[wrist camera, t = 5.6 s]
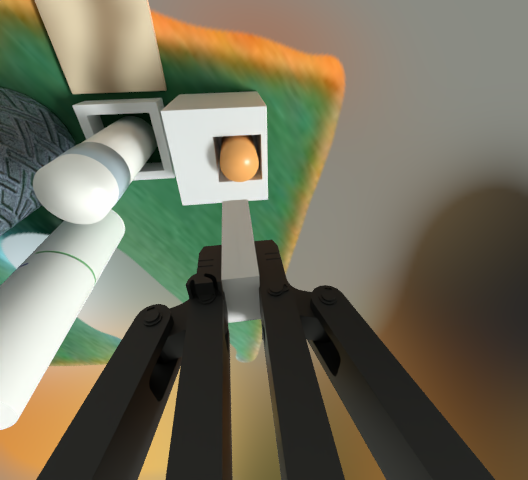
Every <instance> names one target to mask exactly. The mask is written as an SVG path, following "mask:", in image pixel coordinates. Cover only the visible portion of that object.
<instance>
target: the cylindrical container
mask: <svg viewBox="0 0 528 480" xmlns="http://www.w3.org/2000/svg"><path fill="white" fill-rule="evenodd" d="M124 233H125V225H124V222H123V220H122V219H121V217H120V216H119V215H118V214H117V213H116V212H115V211H113V210H112V209H111V210H110V211H109V212H108V214H107V215H106V216H105V217H104V218H103V219H102V220H100V221H99V222H96V223H93V224H75V223H71V222H68V221H65V220H64V221H63V222H62V223H61V224H60V225H59V226H58V227H57V228H56V229H55V230H54V231H53V232H52V233H51V234H50V235H49V236H48V237H47V239H46V240H45V241H44V242H43V243H42V244H41V245H40V246H39V247H38V248H37V249H36V250H35V251H34V252H33V253H32V254H31V255H30V256H29V257H28V258H27V259H26V260H25V261H24V262H23V263H22V264H21V265H20V266H19V267H18V268H17V270H15V271H14V272H13V273H12V275H11V276H10V277H9V278H8V279H7V280H6V281H5V282H4V283H3V284H2V285H1V286H0V430H2V429H5V428H8V427H10V426H12V425H13V424H15V423H16V422H17V420H18V418H19V417H20V415H21V413H22V411H23V409H24V408H25V406H26V404H27V403H28V401H29V399H30V397H31V396H32V394H33V392H34V390H35V389H36V387H37V385H38V384H39V382H40V380H41V378H42V377H43V375H44V373H45V371H46V369H47V368H48V366H49V364H50V363H51V361H52V359H53V357H54V356H55V354H56V352H57V350H58V349H59V347H60V345H61V343H62V342H63V340H64V338H65V336H66V335H67V333H68V331H69V329H70V328H71V326H72V324H73V322H74V321H75V319H76V317H77V316H78V314H79V312H80V310H81V309H82V307H83V305H84V303H85V302H86V300H87V298H88V296H89V295H90V293H91V291H92V289H93V288H94V286H95V284H96V282H97V281H98V279H99V277H100V275H101V274H102V272H103V270H104V268H105V267H106V265H107V263H108V261H109V260H110V258H111V256H112V254H113V253H114V251H115V249H116V247H117V246H118V244H119V242H120V241H121V239H122V237H123V235H124Z"/></svg>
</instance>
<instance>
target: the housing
mask: <svg viewBox="0 0 528 480" xmlns="http://www.w3.org/2000/svg"><path fill="white" fill-rule="evenodd" d="M72 106H73V109H74V111H75V113H76V116H77V118H78V121H79V123H80V125H81V128H82V130H83V133H84V135H85V138H86V140H87V139H88V138H90V137H91V136H93V135H95V134H96V133H98V132H99V131H101V130H103V129H104V125H103V123H102V120H101V117H100V115H106V114H129V113H149V114H150V118H151V122H152V126H153V130H154V133H155V137H156V141H157V145H158V149H159V153H160V156H161V160H162V162H161V163H145V164H144V166H143V167H142V168H141V170H140V171H139V172H138V174H137V175H136V176H135V178H134V179H133V180H146V179H162V178H174V177H175V175H176V179H177V183H178V187H179V191H180V196H181V200H182V204H183V205H194V204H208V203H222V201H230V200H243V199H248V201H252V200H266V199H268V166H267V106H266V105H265V103H264V101H263V100H262V98H261V97H260V95H259V94H258V92H257V91H253V92H228V93H203V94H179V95H178V96H177V97H176V98H175V99H174V100H172V101H171V102H170V103H169V104H168V105H167V106H166V107H165V108H164V104H163V100H162V98H140V99H115V100H91V101H83V102H80V103H77V104H74V105H72ZM239 135H251V136H252V138H253V141H254V145H255V148H256V152H257V156H258V160H259V166H258V170H257V172H256V174H255V175H254V176H253V177H252V178H251V179H249V180H247V181H244V182H235V181H232V180H230V179H228V178H227V177H226V176H225V175H224V174H223V173H222V171H221V168H220V153H221V142H222V138H223V136H239Z"/></svg>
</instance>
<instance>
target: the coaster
mask: <svg viewBox="0 0 528 480" xmlns="http://www.w3.org/2000/svg"><path fill="white" fill-rule="evenodd" d="M35 3H36V5H37V8H38V10H39V13H40V15H41V18H42V20H43V23H44V25H45V27H46V30H47V32H48V35H49V37H50V40H51V42H52V45H53V47H54V50H55V52H56V55H57V57H58V60H59V62H60V65H61V67H62V69H63V72H64V74H65V77H66V79H67V82H68V84H69V87H70V89H71V92H72V94H90V93H116V92H141V91H166V90H167V87H166V82H165V78H164V73H163V68H162V64H161V59H160V54H159V50H158V45H157V40H156V35H155V31H154V26H153V21H152V17H151V12H150V7H149V3H148V0H35Z"/></svg>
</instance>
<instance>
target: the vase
mask: <svg viewBox="0 0 528 480" xmlns="http://www.w3.org/2000/svg"><path fill="white" fill-rule="evenodd" d="M74 146H76V144H75V141H74V139H73V137H72V136H71V134H70V132H69V131H68V129H67V128H66V126H65V125H64V124H63V123H62V122H61V120H60V119H59V118H58V117H57V116H56V115H55V114H54V113H52V112H51V111H50V110H49V109H48V108H46V107H45V106H44V105H42V104H41V103H39V102H38V101H36V100H34V99H32V98H31V97H29V96H26V95H24V94H22V93H19V92H16V91H13V90H9V89H5V88H1V87H0V236H1V235H3V234H4V233H5V232H7V231H8V230H9V229H11V228H12V227H13V226H15V225H16V224H17V223H19V222H20V221H21V220H23V219H24V218H26V217H27V216H28V215H30V214H31V213H32V212H34V211H35V210H36V209H38V208H39V207H40V206H42V204H41V203H40V201H39V200H38V198H37V197H36V195H35V192H34V188H33V179H34V176H35V174H36V172H37V171H38V170H39V169H40V168H42V167H43V166H45V165H46V164H48V163H50V162H51V161H53V160H54V159H55V158H56V157H58V156H59V155H61V154H63V153H64V152H66V151H67V150H69V149H71V148H72V147H74Z"/></svg>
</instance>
